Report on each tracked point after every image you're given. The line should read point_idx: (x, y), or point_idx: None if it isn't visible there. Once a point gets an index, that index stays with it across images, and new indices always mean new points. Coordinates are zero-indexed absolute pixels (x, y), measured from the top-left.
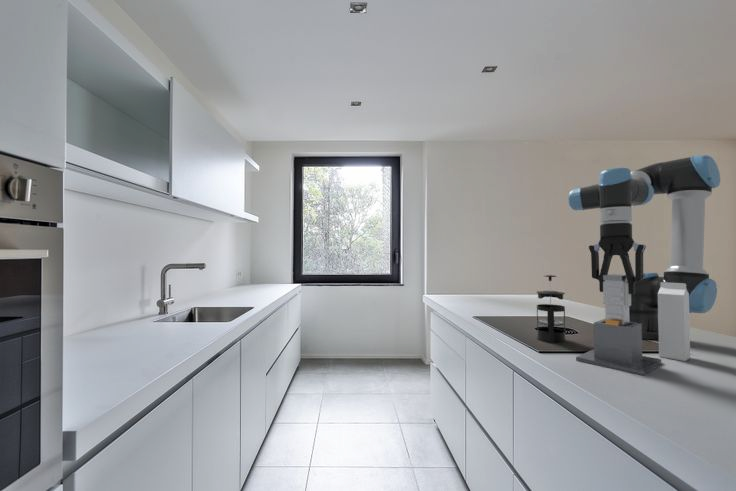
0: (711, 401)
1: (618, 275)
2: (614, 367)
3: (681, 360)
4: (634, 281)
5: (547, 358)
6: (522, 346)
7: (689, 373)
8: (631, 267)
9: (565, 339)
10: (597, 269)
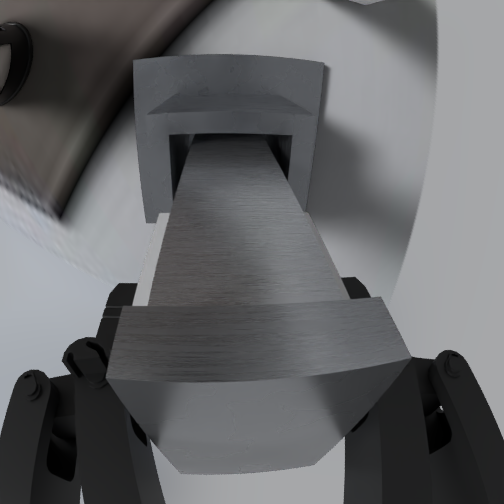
0: (385, 272)
1: (286, 461)
2: None
3: (357, 2)
4: None
5: (103, 251)
6: (12, 204)
7: (378, 125)
8: (425, 489)
9: (26, 36)
10: (62, 483)
